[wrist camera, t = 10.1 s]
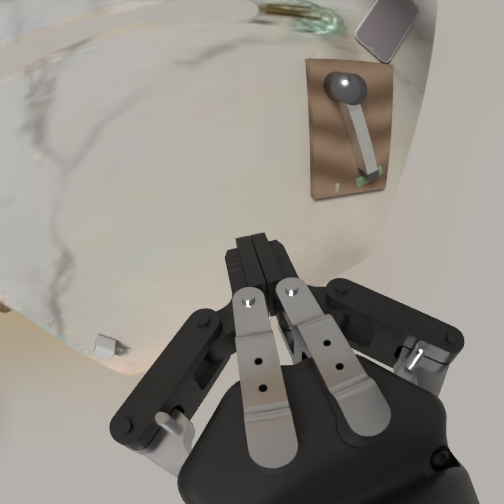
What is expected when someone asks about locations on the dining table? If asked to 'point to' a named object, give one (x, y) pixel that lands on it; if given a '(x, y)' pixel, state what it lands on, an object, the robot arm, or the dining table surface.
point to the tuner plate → (335, 133)
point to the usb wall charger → (106, 347)
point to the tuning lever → (353, 117)
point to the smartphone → (386, 26)
